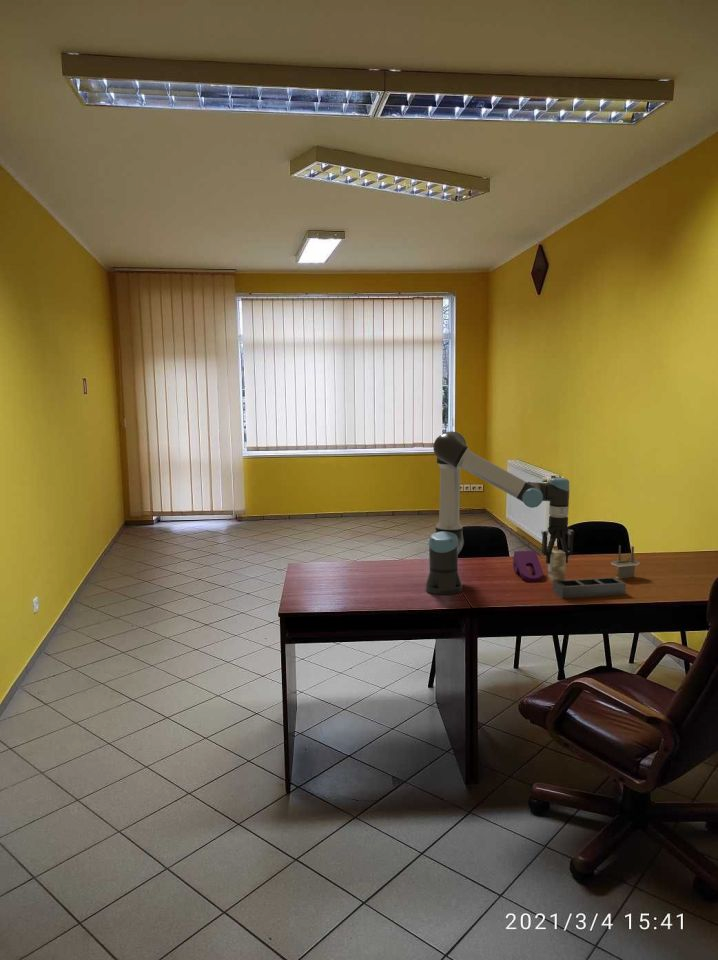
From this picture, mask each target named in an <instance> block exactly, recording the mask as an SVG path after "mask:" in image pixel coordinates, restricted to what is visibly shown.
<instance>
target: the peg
mask: <svg viewBox="0 0 718 960" xmlns="http://www.w3.org/2000/svg"><path fill="white" fill-rule="evenodd" d="M565 555H566V553H565V552H563V549H562V550H561V549H553V550H552V553H551V556H552V572H549V571H548V570H547V575H548V576H547V579H548V580H550V581H551V582H552V583H554V581H558V580H566V578H565V573H566V568H565Z"/></svg>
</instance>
